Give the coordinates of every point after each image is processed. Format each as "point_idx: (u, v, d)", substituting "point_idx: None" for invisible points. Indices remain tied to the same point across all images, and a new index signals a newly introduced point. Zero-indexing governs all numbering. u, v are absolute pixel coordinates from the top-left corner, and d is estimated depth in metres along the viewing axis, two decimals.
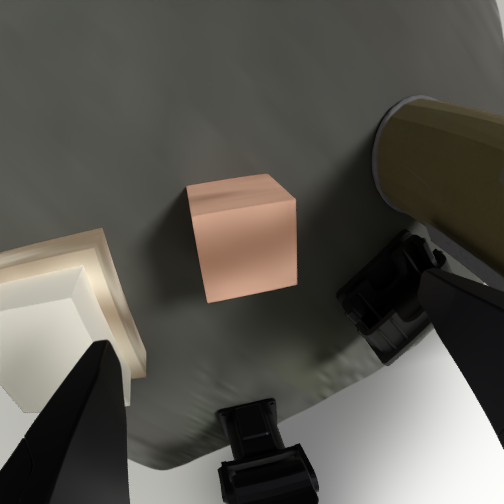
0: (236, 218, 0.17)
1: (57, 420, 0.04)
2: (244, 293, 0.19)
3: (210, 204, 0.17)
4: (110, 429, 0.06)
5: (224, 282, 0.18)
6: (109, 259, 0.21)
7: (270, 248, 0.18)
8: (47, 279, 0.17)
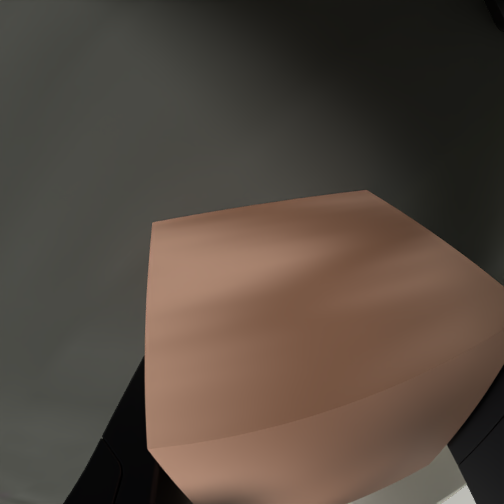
0: None
1: (141, 414, 0.05)
2: (457, 428, 0.05)
3: None
4: None
5: (405, 468, 0.05)
6: None
7: (369, 445, 0.04)
8: None
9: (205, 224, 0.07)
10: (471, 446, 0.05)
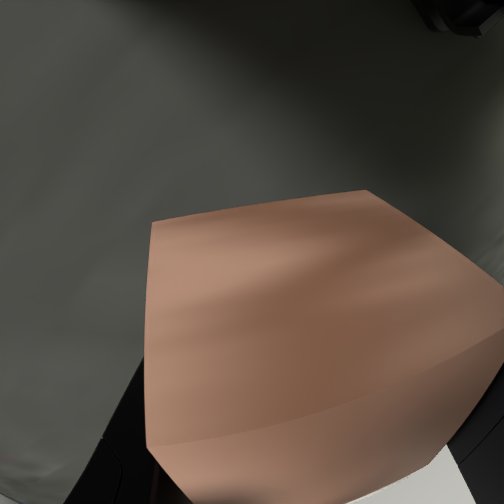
0: None
1: (141, 414, 0.05)
2: (456, 427, 0.05)
3: None
4: None
5: (405, 467, 0.05)
6: None
7: (369, 444, 0.04)
8: None
9: (205, 224, 0.07)
10: (471, 447, 0.05)
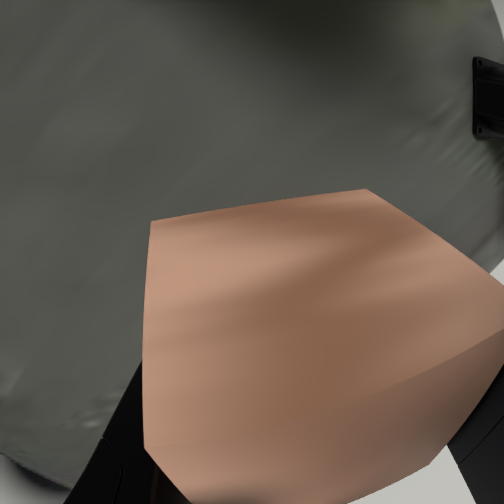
0: None
1: (141, 414, 0.05)
2: (457, 427, 0.05)
3: None
4: None
5: (405, 468, 0.05)
6: None
7: (369, 445, 0.04)
8: None
9: (204, 223, 0.07)
10: (471, 447, 0.05)
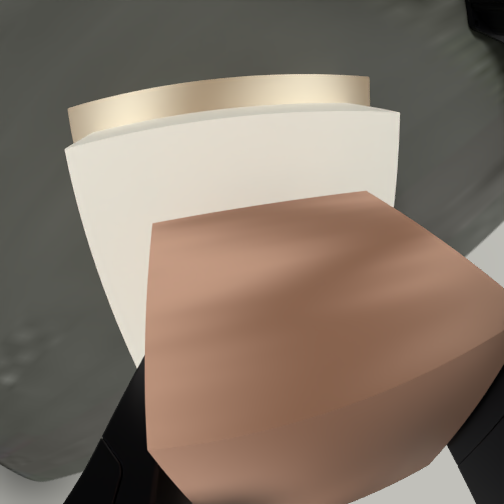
0: None
1: (141, 414, 0.05)
2: (457, 428, 0.05)
3: None
4: None
5: (405, 469, 0.05)
6: None
7: (369, 446, 0.04)
8: None
9: (205, 225, 0.07)
10: (471, 446, 0.05)
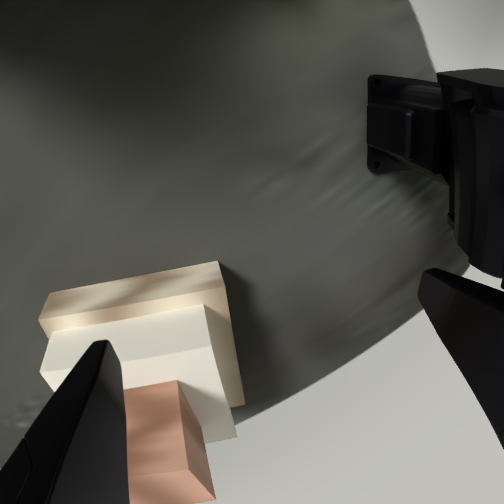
0: None
1: (57, 420, 0.04)
2: (203, 490, 0.13)
3: None
4: (110, 429, 0.06)
5: (190, 498, 0.14)
6: (74, 292, 0.19)
7: (142, 486, 0.12)
8: None
9: None
10: None
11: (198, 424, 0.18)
